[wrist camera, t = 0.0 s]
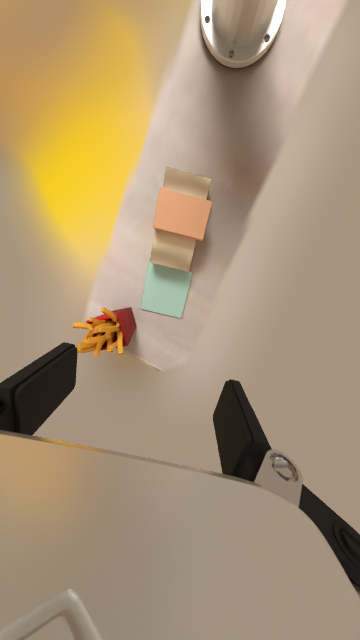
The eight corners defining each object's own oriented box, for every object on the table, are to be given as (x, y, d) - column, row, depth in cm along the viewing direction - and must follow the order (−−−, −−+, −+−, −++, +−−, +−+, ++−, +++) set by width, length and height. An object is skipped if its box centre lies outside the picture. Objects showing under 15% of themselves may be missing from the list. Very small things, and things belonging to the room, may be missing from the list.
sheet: (168, 177, 34) (166, 166, 30) (208, 188, 34) (211, 179, 30) (153, 262, 39) (149, 262, 35) (188, 271, 39) (188, 271, 35)
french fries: (141, 328, 44) (119, 360, 29) (109, 334, 44) (74, 368, 30) (131, 294, 41) (102, 310, 27) (98, 300, 42) (52, 319, 27)
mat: (148, 261, 39) (148, 261, 38) (192, 272, 39) (192, 272, 39) (140, 308, 42) (140, 308, 42) (181, 317, 42) (181, 318, 42)
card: (161, 193, 31) (159, 187, 29) (210, 206, 32) (212, 201, 29) (155, 229, 33) (153, 226, 31) (201, 241, 33) (202, 239, 31)
